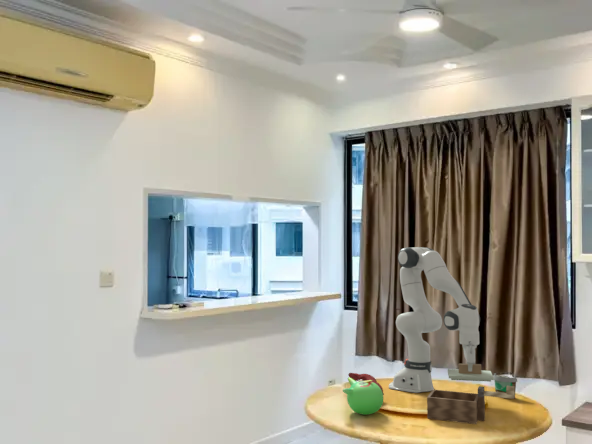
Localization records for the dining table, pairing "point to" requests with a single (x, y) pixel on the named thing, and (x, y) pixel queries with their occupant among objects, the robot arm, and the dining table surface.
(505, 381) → the food container
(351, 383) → the toy bird
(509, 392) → the wooden key
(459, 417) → the toolbox
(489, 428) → the dining table surface
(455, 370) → the toolbox lid
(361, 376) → the red toy dinosaur
